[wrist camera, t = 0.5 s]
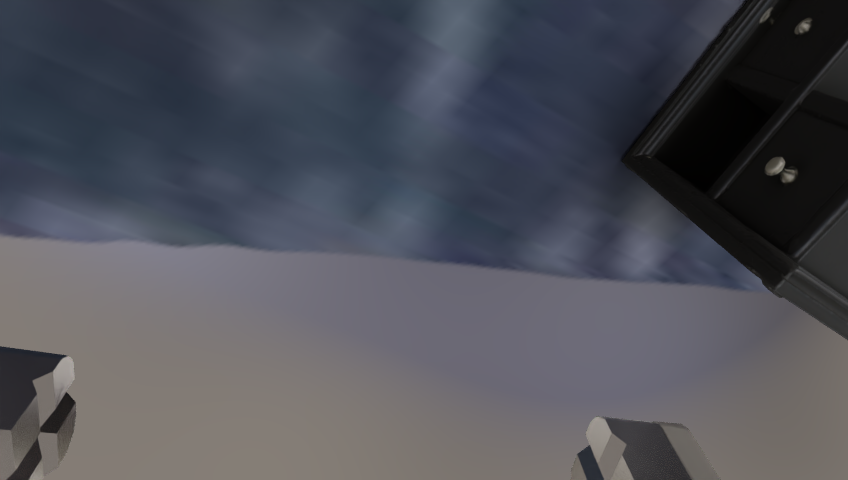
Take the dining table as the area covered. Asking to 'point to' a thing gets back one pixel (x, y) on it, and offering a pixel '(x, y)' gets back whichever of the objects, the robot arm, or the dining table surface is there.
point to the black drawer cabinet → (766, 150)
